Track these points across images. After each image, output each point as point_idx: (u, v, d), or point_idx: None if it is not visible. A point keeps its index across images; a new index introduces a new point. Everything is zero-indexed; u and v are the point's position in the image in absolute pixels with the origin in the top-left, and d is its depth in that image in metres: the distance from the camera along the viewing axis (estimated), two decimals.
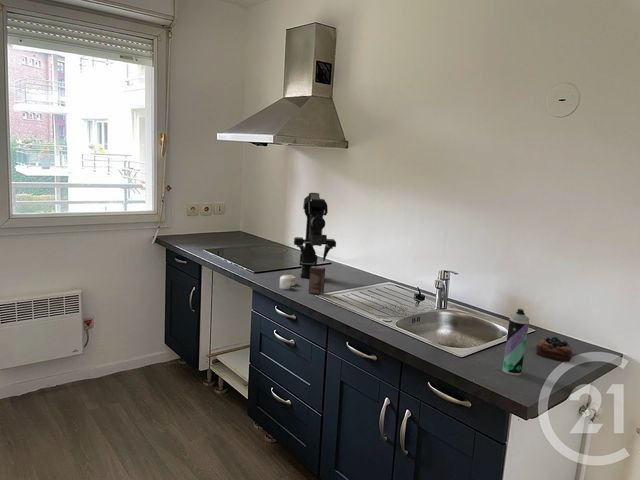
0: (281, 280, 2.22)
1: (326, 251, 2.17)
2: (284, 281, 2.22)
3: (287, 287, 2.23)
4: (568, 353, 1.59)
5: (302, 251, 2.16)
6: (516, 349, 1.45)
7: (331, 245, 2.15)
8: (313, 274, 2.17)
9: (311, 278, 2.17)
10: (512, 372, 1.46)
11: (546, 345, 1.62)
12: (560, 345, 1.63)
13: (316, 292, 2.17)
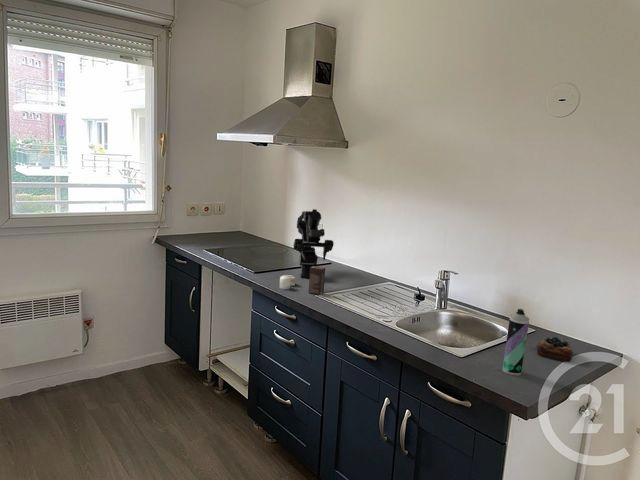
0: (281, 280, 2.22)
1: (325, 249, 2.29)
2: (284, 281, 2.22)
3: (287, 287, 2.23)
4: (569, 353, 1.59)
5: (303, 249, 2.26)
6: (516, 349, 1.45)
7: (329, 242, 2.30)
8: (313, 274, 2.17)
9: (311, 278, 2.17)
10: (512, 372, 1.46)
11: (547, 345, 1.62)
12: (561, 345, 1.63)
13: (316, 292, 2.17)
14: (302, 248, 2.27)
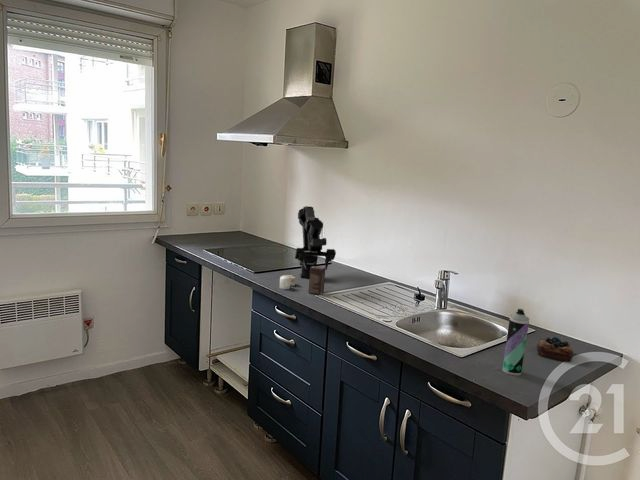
0: (281, 280, 2.22)
1: (327, 259, 2.24)
2: (284, 281, 2.22)
3: (287, 287, 2.23)
4: (569, 353, 1.59)
5: (304, 259, 2.21)
6: (516, 349, 1.45)
7: (331, 251, 2.25)
8: (313, 274, 2.17)
9: (311, 278, 2.17)
10: (512, 372, 1.46)
11: (547, 345, 1.62)
12: (561, 345, 1.63)
13: (316, 292, 2.17)
14: (304, 258, 2.22)
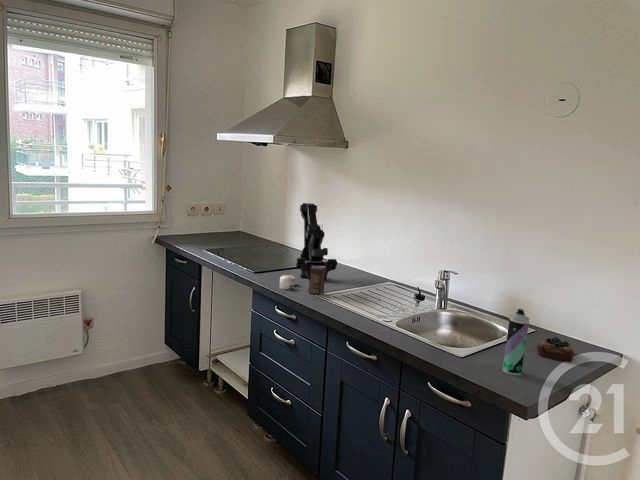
0: (281, 280, 2.22)
1: (326, 269, 2.20)
2: (284, 281, 2.22)
3: (287, 287, 2.23)
4: (570, 353, 1.59)
5: (307, 269, 2.18)
6: (516, 349, 1.45)
7: (332, 261, 2.21)
8: (313, 274, 2.17)
9: (311, 278, 2.17)
10: (512, 372, 1.46)
11: (548, 346, 1.62)
12: (562, 345, 1.63)
13: (316, 292, 2.17)
14: (306, 268, 2.18)
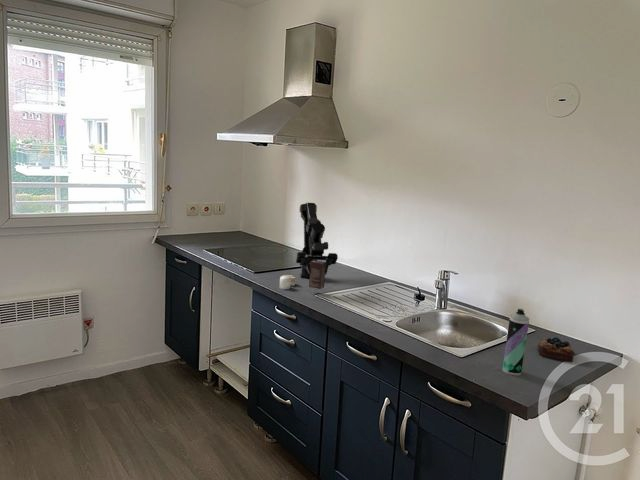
0: (281, 280, 2.22)
1: (327, 263, 2.19)
2: (284, 281, 2.22)
3: (287, 287, 2.23)
4: (571, 353, 1.59)
5: (308, 264, 2.17)
6: (516, 349, 1.45)
7: (333, 255, 2.20)
8: (313, 268, 2.16)
9: (311, 272, 2.17)
10: (512, 372, 1.46)
11: (549, 346, 1.62)
12: (562, 345, 1.63)
13: (316, 286, 2.17)
14: (307, 262, 2.18)
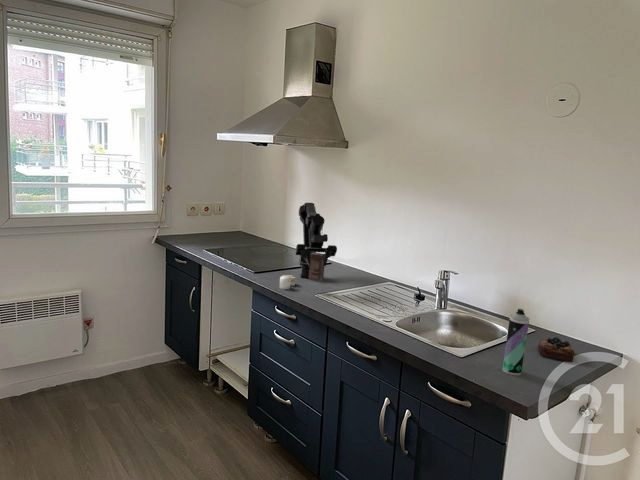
0: (281, 280, 2.22)
1: (326, 255, 2.21)
2: (284, 281, 2.22)
3: (287, 287, 2.23)
4: (572, 353, 1.59)
5: (307, 256, 2.19)
6: (516, 349, 1.45)
7: (332, 248, 2.22)
8: (313, 260, 2.18)
9: (311, 264, 2.19)
10: (512, 372, 1.46)
11: (550, 346, 1.62)
12: (563, 345, 1.63)
13: (316, 278, 2.19)
14: (306, 254, 2.20)
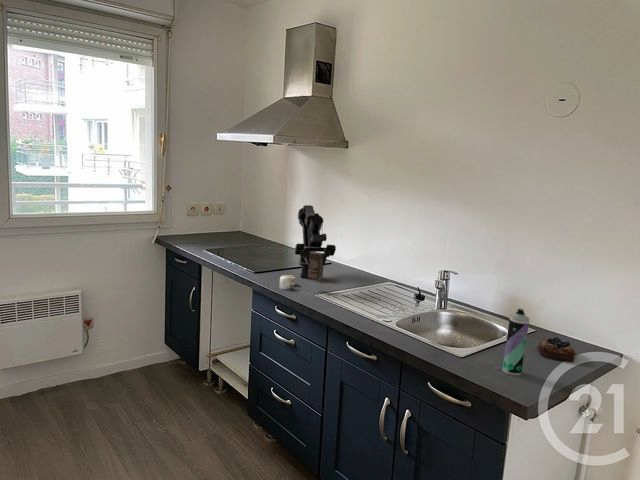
0: (281, 280, 2.22)
1: (325, 254, 2.24)
2: (284, 281, 2.22)
3: (287, 287, 2.23)
4: (572, 353, 1.59)
5: (306, 255, 2.22)
6: (516, 349, 1.45)
7: (331, 247, 2.25)
8: (312, 260, 2.21)
9: (310, 263, 2.21)
10: (512, 372, 1.46)
11: (550, 346, 1.62)
12: (563, 345, 1.63)
13: (315, 277, 2.21)
14: (306, 253, 2.22)
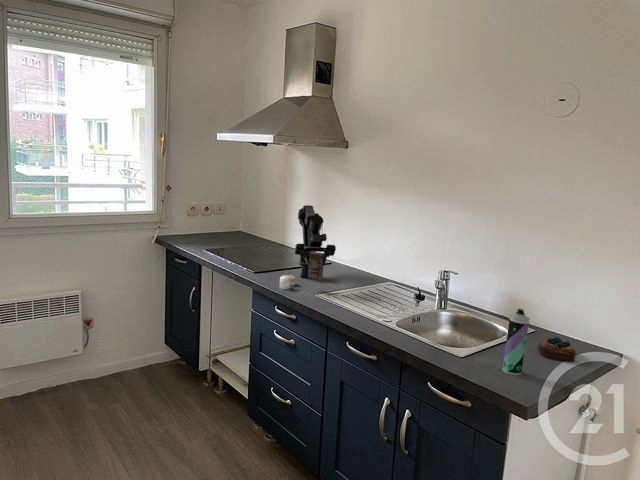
0: (281, 280, 2.22)
1: (325, 254, 2.24)
2: (284, 281, 2.22)
3: (287, 287, 2.23)
4: (573, 353, 1.59)
5: (306, 255, 2.22)
6: (516, 349, 1.45)
7: (331, 247, 2.25)
8: (312, 260, 2.21)
9: (310, 263, 2.21)
10: (512, 372, 1.46)
11: (551, 346, 1.62)
12: (564, 345, 1.63)
13: (315, 277, 2.21)
14: (306, 253, 2.22)
